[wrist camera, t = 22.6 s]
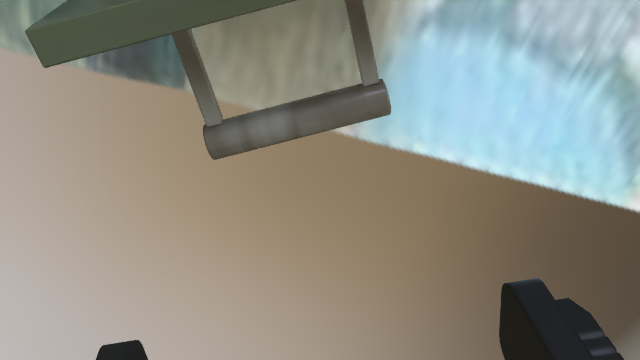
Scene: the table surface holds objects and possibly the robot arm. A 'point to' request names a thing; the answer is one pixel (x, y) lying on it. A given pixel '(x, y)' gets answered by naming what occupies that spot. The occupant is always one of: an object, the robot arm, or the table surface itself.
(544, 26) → the table surface
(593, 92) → the table surface
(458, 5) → the table surface
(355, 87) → the drawer
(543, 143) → the table surface
